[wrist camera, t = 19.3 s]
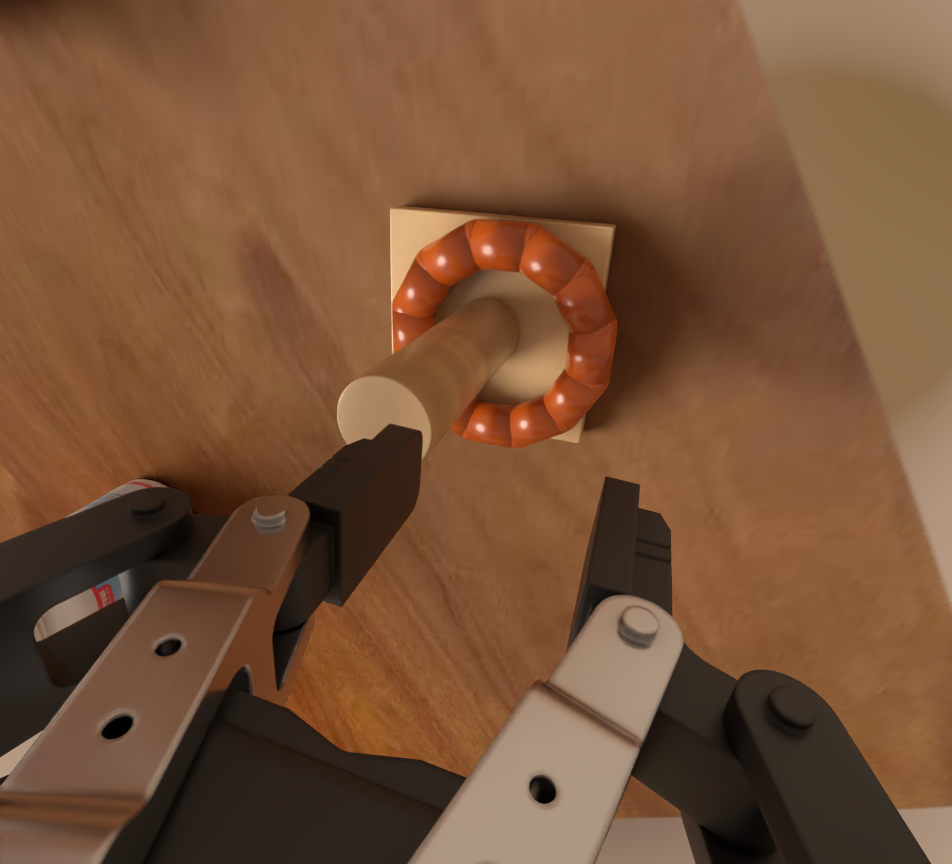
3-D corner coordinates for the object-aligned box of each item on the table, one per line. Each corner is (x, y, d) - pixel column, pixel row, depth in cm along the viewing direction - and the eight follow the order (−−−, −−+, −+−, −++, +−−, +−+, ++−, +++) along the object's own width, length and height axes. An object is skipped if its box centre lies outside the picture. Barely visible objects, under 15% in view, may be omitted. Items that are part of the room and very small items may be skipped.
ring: (633, 225, 20) (630, 230, 18) (600, 450, 24) (596, 469, 22) (399, 212, 22) (380, 215, 20) (406, 418, 26) (390, 434, 25)
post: (616, 224, 21) (576, 269, 11) (583, 432, 25) (532, 597, 15) (401, 205, 23) (213, 229, 13) (402, 400, 27) (258, 526, 17)
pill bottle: (205, 562, 37) (45, 699, 28) (133, 536, 39) (-45, 658, 29) (197, 489, 34) (14, 613, 25) (119, 463, 36) (-84, 572, 26)
